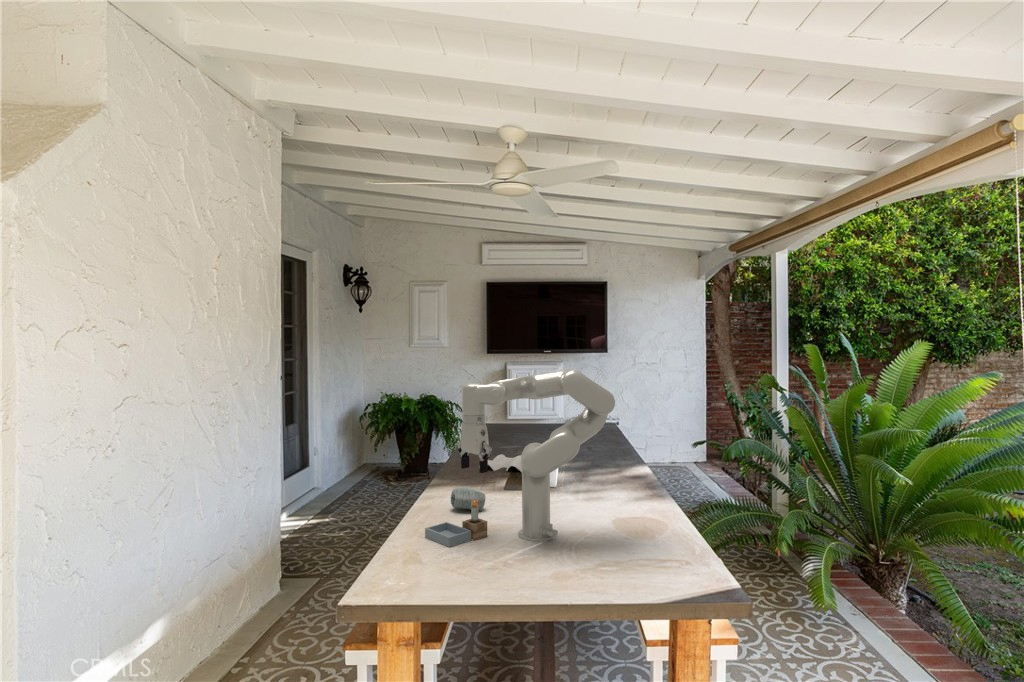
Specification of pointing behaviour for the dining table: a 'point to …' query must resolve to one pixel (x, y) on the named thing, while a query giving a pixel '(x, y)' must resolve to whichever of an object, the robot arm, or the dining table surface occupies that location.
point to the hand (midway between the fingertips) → (474, 470)
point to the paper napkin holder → (505, 462)
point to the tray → (448, 534)
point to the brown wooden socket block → (476, 528)
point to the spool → (467, 498)
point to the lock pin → (474, 511)
